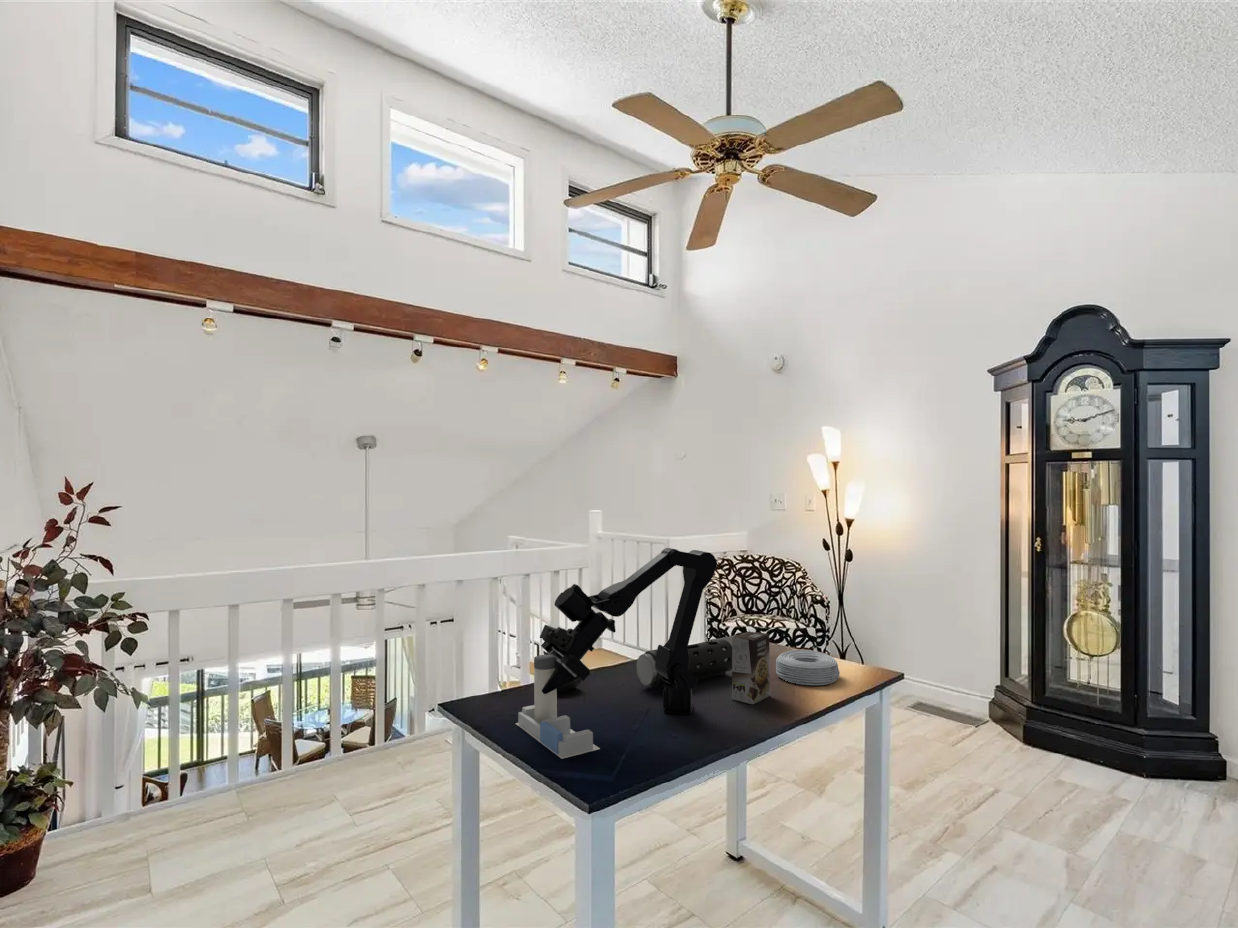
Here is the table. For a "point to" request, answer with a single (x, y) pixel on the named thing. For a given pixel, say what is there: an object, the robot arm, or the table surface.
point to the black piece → (569, 685)
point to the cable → (807, 667)
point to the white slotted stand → (556, 734)
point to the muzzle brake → (690, 662)
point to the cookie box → (750, 667)
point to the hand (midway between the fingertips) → (539, 689)
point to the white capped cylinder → (542, 702)
